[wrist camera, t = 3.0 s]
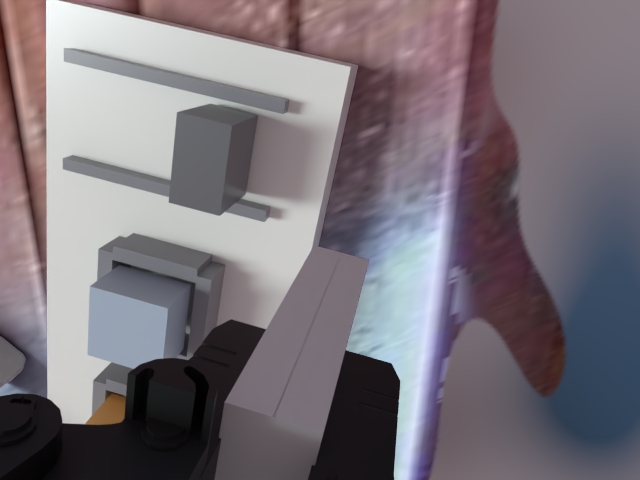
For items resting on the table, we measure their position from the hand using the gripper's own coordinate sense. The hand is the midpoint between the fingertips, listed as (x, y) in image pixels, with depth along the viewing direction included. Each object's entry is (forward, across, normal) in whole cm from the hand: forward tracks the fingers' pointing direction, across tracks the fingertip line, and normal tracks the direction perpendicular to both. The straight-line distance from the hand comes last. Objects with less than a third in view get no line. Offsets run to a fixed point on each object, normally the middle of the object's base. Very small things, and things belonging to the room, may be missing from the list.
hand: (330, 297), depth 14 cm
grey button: (+10, -10, -9) cm, 16 cm away
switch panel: (+15, -10, -8) cm, 19 cm away
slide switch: (+12, -7, 0) cm, 14 cm away
